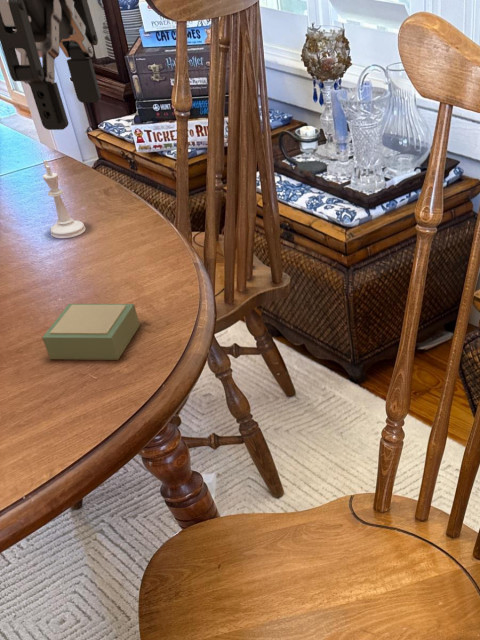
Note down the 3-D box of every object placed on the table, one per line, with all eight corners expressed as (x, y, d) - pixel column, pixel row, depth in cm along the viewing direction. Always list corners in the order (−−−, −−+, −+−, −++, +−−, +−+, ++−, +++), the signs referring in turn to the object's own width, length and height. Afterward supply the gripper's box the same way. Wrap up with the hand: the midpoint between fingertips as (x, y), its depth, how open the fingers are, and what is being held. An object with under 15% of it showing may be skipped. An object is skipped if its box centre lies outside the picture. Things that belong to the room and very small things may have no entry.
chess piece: (56, 241, 113) (31, 169, 107) (47, 230, 116) (23, 159, 110) (89, 233, 115) (67, 161, 108) (80, 222, 118) (58, 152, 111)
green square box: (50, 359, 89) (41, 335, 87) (76, 324, 95) (68, 301, 93) (118, 360, 88) (110, 336, 86) (140, 325, 94) (133, 302, 92)
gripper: (6, -109, 69) (65, 94, 80) (-77, -91, 59) (4, 138, 70) (87, -111, 69) (135, 93, 80) (18, -94, 58) (84, 138, 70)
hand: (74, 114), depth 75 cm, fingers open, 8 cm apart
